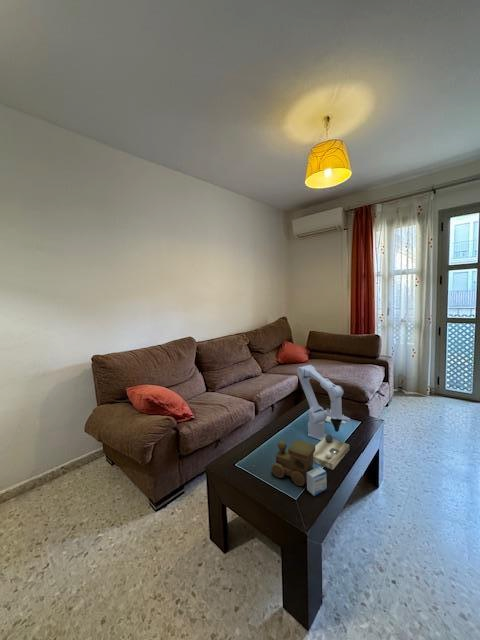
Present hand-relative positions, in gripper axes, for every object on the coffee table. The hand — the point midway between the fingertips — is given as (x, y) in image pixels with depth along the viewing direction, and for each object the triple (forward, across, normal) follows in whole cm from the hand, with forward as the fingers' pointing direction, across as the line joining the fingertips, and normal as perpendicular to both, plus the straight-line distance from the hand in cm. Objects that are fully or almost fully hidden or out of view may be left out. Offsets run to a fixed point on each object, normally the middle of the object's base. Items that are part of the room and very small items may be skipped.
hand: (336, 430), depth 145 cm
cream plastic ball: (+5, +2, -16) cm, 17 cm away
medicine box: (+10, +6, -37) cm, 39 cm away
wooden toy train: (+10, -7, -36) cm, 38 cm away
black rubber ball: (+5, -4, -2) cm, 7 cm away
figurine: (+10, -17, +33) cm, 39 cm away
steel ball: (+8, +2, -9) cm, 12 cm away
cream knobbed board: (+10, -1, -9) cm, 13 cm away
